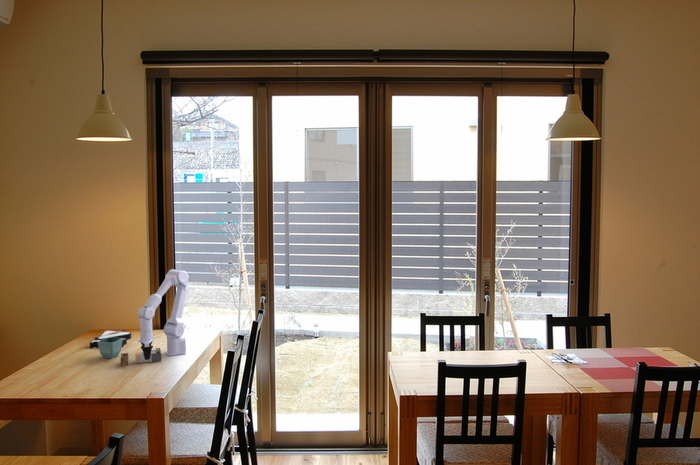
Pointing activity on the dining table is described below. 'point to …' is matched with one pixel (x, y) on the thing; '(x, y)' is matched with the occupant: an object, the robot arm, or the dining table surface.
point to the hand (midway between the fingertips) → (147, 357)
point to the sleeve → (156, 355)
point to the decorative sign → (114, 335)
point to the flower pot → (110, 347)
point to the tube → (140, 357)
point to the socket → (124, 359)
